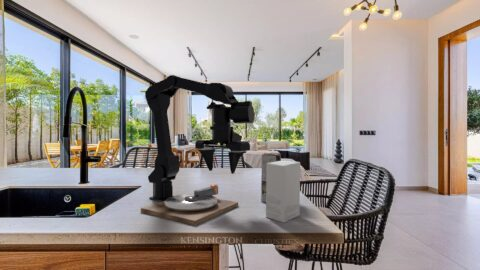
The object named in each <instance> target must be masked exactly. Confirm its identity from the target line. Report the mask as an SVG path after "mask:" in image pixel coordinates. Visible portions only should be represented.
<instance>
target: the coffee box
mask: <svg viewBox="0 0 480 270" xmlns="http://www.w3.org/2000/svg"><path fill="white" fill-rule="evenodd" d="M277 161H282V153H279V152H278V153H276V152H275V153H273V152H272V153H271V152H270V153H266V152H265V153H263V154H262V155H261V178H260V179H261V180H260V181H261V182H260V183H261V184H260V185H261V187H260V190H261V191H260V192H261V194H260V196H261V197H260V201H261V202H262V203H266V166H267V164H266V163H271V162H277Z"/></svg>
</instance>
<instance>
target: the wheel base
mask: <svg viewBox="0 0 480 270" xmlns="http://www.w3.org/2000/svg"><path fill="white" fill-rule="evenodd" d="M237 207H239V201H232V200H228V199H222V198H217V205H216V206H215V207H213V208H210V209H206V210H201V211H190V212H184V211H174V210H170V209H167V208H166V207H165V201H158V202H156V203H153V204H150V205H146V206H143V207H140V213H144V214H146V215H150V216H151V215H152V216H155V217H159V218H164V219H167V220H170V221H171V220H172V221H175V222H180V223H183V224H188V225H191V226H197V225H200V224H202V223H205V222H206V221H208V220H210V219H213V218H214V217H217V216H219V215H221V214H223V213H226V212H228V211H230V210H233V209H234V208H237Z"/></svg>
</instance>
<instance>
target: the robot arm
mask: <svg viewBox="0 0 480 270" xmlns="http://www.w3.org/2000/svg"><path fill="white" fill-rule="evenodd" d="M180 89H181V90H185V91H189V92H193V93H197V94H201V95H203V96H204V97H207V98H208V99H210V100H212V101H211V102H210V104H208V106H206V109H207V110H212V126H209V129H210V131H212V139H211V138H210V139H197V140H196V141H195V143H194V144H195V145H194V148H195V149H197V152H199V153H200V155H201V157H202V158H203V160H204V162H205V165H206V166H207V167H206V168H207V169H208V170H209V172H212V171H213V168H214V165H213V164H214V154H215V152H216V149H217V148H218V149H229V150H230V151H228V153H227V154H228V161H229V162H228V163H229V169H230V174H232V175H233V174H235V172H236V170H237V167H238V164H239V161H240V159H241V157H242V156H243V155H244V154H246V153H247V152H248V151H251V144H250V142H249V141H246V140H243V139H242V138H243V136H242V135H241V134H239V133H237V132H235V131H234V130H235V129H234V126H231V123H232V122H233V124H253V123H254V122H255V116H256V113H255V110H254V106H253V101H252V100H245V101H239V100H238V99H237V98H236V97H235V94H234V90H233V88H232V87H231V86H230V85H228V84H227V85H226V84H224V83H221V82H202V81H197V80H192V79H188V78H184V77H181V76H178V75H174V74H171V75H170V74H169V76H166V77H165V78H164V79H163V80H159V81H157V82H156V83H154V84H153V85H151V86H149V87H147V89H146V90H145V95H144V96H145V101H146V103H147V106H148V107H149V109H150V110H151V113H152V117H153V124H154V132H155V134H154V135H155V142H156V149H157V155H156V157H155V159H154V166H153V167H154V169H153V170H152V171H151V173H150V174H149V175H148V176H147V179H148V182H149V183H150V184H152V196H150V197H149V200H154V201H158V202H163V201H165V200H166V199H167V198H169V197H172V196H174V195H173V194H174V192H173V191H174V190H173V189H174V188H173V187H174V186H173V181H174V180H176V179H177V175H178V173H179V172H180V167H181V163H180V155H177V154H176V155H175V153H174V152H173V148H172V147H173V146H172V139H171V138H172V137H171V130H170V124H169V116H168V115H169V114H168V110H169V108H170V105H171V99H172V98H173V97H174V96H176V94H177V92H178V90H180ZM213 101H215V102H213ZM216 102H218V104H217V103H216ZM226 105H228V106H226ZM215 148H216V149H215Z"/></svg>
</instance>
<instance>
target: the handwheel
mask: <svg viewBox="0 0 480 270" xmlns="http://www.w3.org/2000/svg"><path fill="white" fill-rule="evenodd" d="M218 194H219V186H218V184H216V183H215V184H214V183H213V184H210V186H208V187H203V188H200V189H195V190H193V193H185V194H178V195H173V196H172V197H169V198H167V199H166V200H165V207H166V208H167V209H170V210H174V211H184V212H190V211H201V210H206V209H210V208H213V207H215V206H216V205H217V199H218V198H217V197H216V195H218Z"/></svg>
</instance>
